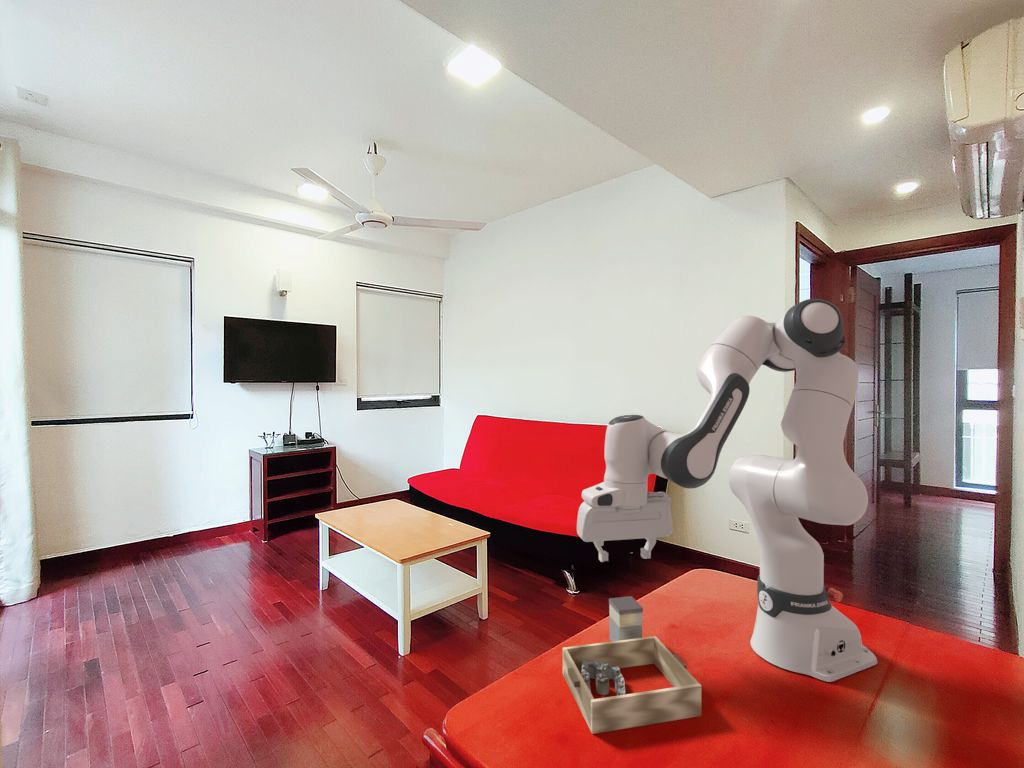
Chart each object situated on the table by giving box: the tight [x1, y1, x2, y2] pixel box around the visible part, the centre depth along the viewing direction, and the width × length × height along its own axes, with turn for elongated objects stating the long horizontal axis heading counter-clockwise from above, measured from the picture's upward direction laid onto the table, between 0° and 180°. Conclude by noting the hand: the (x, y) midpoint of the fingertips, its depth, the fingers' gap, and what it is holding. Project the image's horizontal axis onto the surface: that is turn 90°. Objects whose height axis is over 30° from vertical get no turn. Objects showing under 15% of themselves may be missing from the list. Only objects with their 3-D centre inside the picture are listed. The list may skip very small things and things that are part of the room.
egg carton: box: [581, 660, 626, 696], centre depth 81 cm, size 11×8×4 cm
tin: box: [608, 596, 644, 642], centre depth 97 cm, size 5×5×8 cm
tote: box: [562, 635, 702, 735], centre depth 82 cm, size 21×15×5 cm
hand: (624, 559), depth 97 cm, fingers open, 8 cm apart
